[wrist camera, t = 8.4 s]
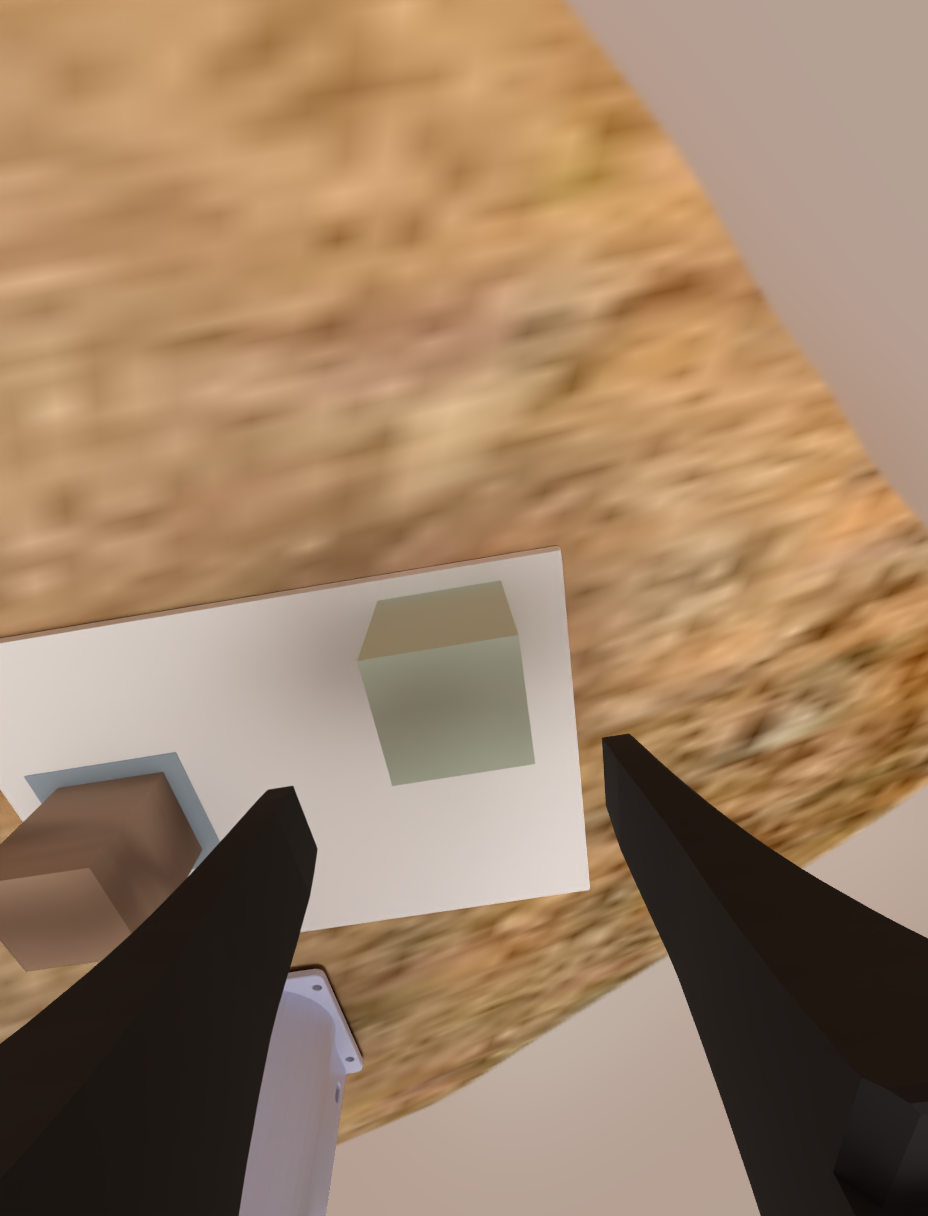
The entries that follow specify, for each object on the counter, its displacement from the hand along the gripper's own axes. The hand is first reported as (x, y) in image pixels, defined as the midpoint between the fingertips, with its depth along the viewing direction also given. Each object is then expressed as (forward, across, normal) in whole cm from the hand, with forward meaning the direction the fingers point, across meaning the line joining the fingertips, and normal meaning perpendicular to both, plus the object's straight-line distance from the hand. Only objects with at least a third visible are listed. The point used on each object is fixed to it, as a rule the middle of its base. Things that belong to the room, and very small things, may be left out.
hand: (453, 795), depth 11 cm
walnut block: (+8, +15, +6) cm, 18 cm away
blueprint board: (+8, +8, +6) cm, 13 cm away
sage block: (+8, 0, 0) cm, 8 cm away
